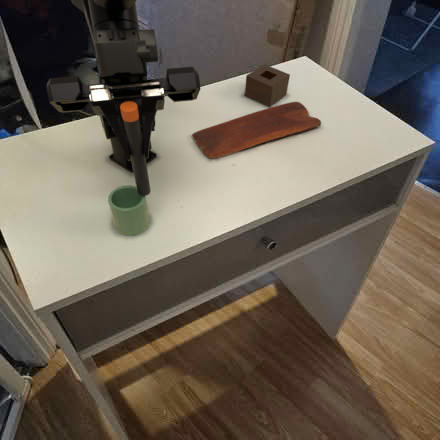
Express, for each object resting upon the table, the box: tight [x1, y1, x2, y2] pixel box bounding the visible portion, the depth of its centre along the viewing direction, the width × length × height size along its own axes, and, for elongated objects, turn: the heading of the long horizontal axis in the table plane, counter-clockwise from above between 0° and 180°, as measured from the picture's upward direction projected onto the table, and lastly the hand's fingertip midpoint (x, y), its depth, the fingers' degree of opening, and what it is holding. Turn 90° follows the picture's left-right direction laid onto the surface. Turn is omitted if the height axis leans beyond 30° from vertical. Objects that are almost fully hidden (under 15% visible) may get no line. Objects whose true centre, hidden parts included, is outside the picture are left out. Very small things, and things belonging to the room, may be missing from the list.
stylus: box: [120, 101, 152, 197], centre depth 54 cm, size 2×2×14 cm
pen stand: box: [244, 64, 291, 108], centre depth 86 cm, size 7×7×4 cm
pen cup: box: [107, 184, 150, 237], centre depth 62 cm, size 6×6×6 cm
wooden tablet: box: [191, 101, 322, 159], centre depth 79 cm, size 27×10×2 cm, turn 118°
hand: (137, 159), depth 53 cm, fingers closed on stylus, 2 cm apart
